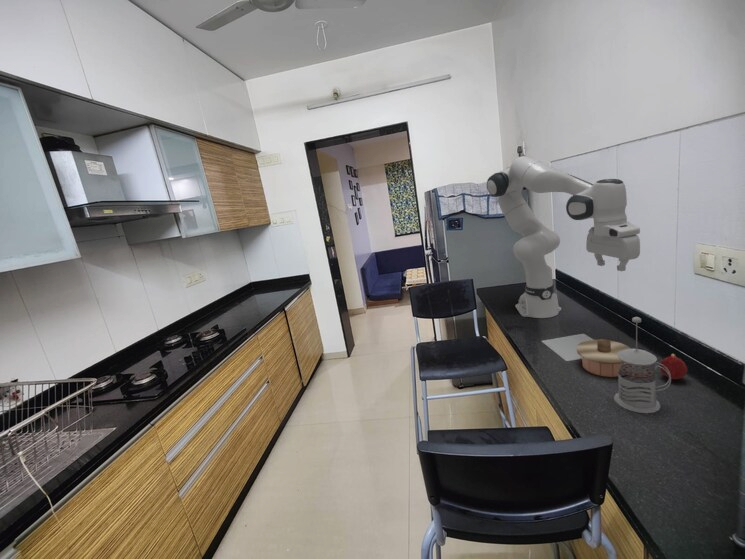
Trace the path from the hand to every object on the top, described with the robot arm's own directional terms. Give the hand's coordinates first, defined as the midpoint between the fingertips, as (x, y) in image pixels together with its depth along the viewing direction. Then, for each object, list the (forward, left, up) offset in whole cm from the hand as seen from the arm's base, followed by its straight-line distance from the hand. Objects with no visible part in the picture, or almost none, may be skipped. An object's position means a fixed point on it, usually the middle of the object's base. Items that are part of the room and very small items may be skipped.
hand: (610, 267), depth 109 cm
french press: (+31, -15, -29) cm, 45 cm away
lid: (+13, -12, -24) cm, 29 cm away
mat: (-2, -12, -29) cm, 32 cm away
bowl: (+13, -12, -29) cm, 34 cm away
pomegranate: (+24, 0, -29) cm, 38 cm away
